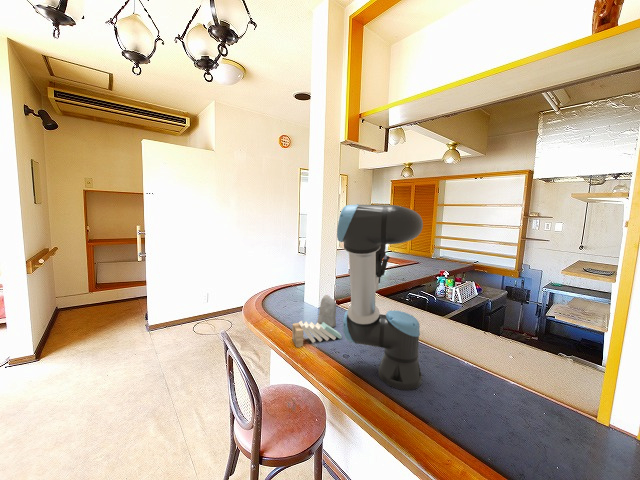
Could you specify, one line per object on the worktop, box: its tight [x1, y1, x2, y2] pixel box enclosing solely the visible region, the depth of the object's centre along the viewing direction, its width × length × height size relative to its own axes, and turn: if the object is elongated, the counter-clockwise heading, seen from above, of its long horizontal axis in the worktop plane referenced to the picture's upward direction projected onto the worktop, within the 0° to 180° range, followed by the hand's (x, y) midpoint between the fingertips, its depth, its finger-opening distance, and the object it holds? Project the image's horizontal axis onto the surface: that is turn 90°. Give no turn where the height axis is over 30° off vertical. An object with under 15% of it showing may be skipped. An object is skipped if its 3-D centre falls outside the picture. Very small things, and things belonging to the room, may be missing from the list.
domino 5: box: [321, 322, 343, 340], centre depth 126 cm, size 5×2×10 cm
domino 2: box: [303, 321, 323, 343], centre depth 123 cm, size 5×2×10 cm
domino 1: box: [298, 320, 316, 344], centre depth 122 cm, size 5×2×10 cm
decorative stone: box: [317, 294, 337, 328], centre depth 141 cm, size 11×6×15 cm, turn 41°
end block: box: [291, 322, 304, 348], centre depth 121 cm, size 8×3×8 cm, turn 19°
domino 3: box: [308, 321, 330, 342], centre depth 124 cm, size 5×2×10 cm
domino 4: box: [315, 321, 337, 341], centre depth 125 cm, size 5×2×10 cm
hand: (375, 289), depth 131 cm, fingers closed
